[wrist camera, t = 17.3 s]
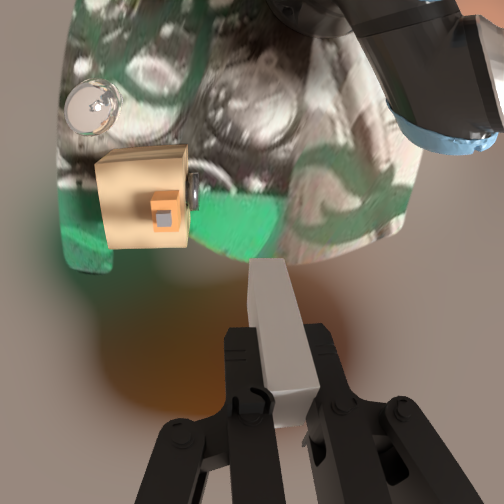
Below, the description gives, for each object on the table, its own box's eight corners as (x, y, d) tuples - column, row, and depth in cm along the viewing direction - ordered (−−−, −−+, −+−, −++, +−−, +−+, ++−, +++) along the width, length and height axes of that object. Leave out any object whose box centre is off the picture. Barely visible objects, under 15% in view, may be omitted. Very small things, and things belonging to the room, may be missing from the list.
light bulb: (109, 68, 33) (72, 68, 22) (147, 92, 35) (122, 97, 25) (84, 110, 35) (43, 125, 25) (121, 133, 38) (90, 153, 28)
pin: (110, 172, 40) (98, 184, 36) (199, 168, 42) (197, 179, 37) (114, 205, 43) (104, 220, 38) (199, 201, 44) (198, 217, 40)
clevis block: (113, 149, 39) (94, 164, 32) (187, 144, 40) (181, 158, 34) (122, 223, 45) (108, 249, 39) (190, 221, 46) (186, 247, 40)
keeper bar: (155, 191, 35) (148, 204, 32) (179, 190, 36) (175, 203, 32) (157, 221, 37) (152, 236, 34) (181, 220, 38) (178, 235, 34)
